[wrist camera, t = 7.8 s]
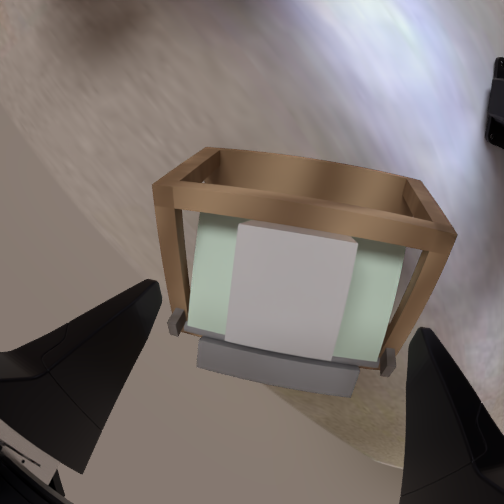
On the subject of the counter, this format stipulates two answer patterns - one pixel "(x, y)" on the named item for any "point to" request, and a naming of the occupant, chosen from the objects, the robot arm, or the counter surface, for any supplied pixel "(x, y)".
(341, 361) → the trapdoor
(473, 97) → the counter surface
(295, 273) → the stone
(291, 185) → the frame
